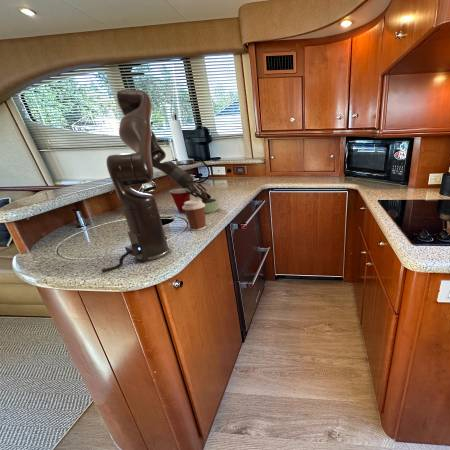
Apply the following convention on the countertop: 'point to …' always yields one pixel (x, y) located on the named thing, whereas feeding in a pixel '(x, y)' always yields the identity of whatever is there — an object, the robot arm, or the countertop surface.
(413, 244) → the countertop surface
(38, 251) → the countertop surface
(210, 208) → the bowl
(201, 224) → the coffee cup
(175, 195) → the plastic cup
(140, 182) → the robot arm
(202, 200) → the muddler
